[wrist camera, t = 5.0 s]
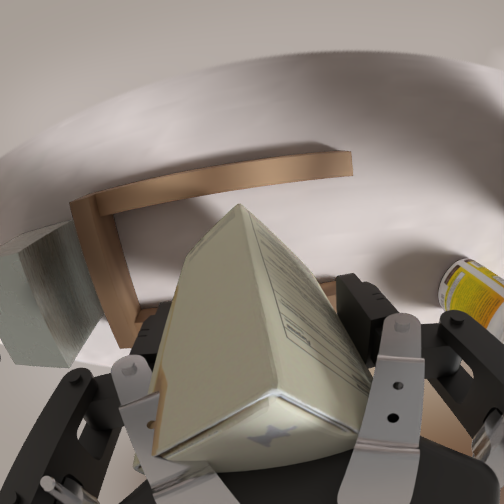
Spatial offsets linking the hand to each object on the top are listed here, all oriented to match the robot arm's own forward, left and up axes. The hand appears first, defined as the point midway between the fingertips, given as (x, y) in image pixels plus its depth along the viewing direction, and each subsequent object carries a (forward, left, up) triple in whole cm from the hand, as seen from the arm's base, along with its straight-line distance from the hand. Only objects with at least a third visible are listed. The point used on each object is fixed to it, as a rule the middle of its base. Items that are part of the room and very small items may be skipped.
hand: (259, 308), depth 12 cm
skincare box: (0, 0, -5) cm, 5 cm away
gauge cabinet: (+16, 0, -8) cm, 18 cm away
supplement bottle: (-19, +7, -9) cm, 22 cm away
